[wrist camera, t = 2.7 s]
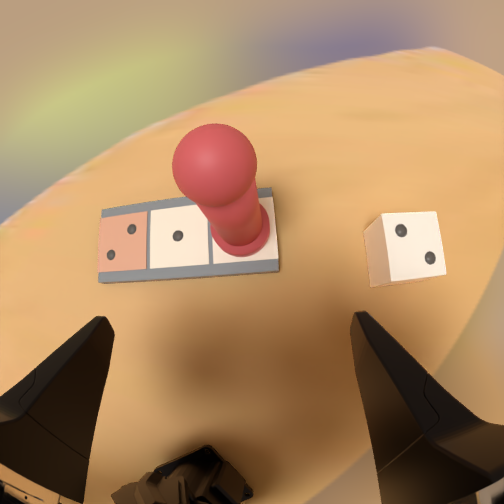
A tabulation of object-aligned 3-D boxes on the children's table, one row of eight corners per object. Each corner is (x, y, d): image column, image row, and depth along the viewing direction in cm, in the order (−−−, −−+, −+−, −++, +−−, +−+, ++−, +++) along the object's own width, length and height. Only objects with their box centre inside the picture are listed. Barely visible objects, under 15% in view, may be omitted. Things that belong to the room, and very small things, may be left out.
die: (418, 281, 21) (446, 274, 17) (370, 287, 21) (391, 281, 17) (411, 228, 22) (436, 211, 18) (363, 231, 22) (381, 213, 18)
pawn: (234, 268, 21) (186, 217, 10) (203, 224, 22) (137, 141, 11) (281, 235, 22) (285, 150, 10) (248, 193, 23) (222, 86, 11)
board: (272, 192, 24) (271, 186, 23) (279, 272, 22) (279, 270, 21) (106, 213, 25) (100, 209, 24) (104, 283, 23) (97, 282, 22)
